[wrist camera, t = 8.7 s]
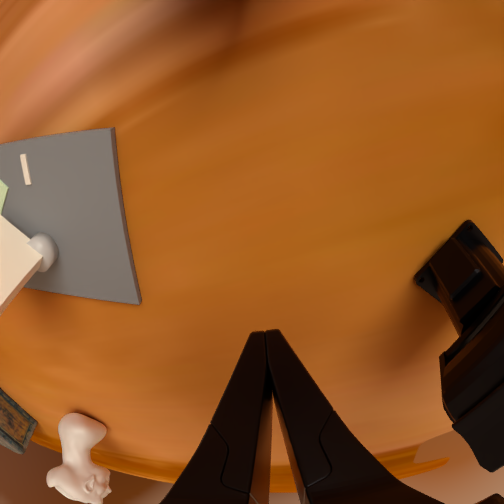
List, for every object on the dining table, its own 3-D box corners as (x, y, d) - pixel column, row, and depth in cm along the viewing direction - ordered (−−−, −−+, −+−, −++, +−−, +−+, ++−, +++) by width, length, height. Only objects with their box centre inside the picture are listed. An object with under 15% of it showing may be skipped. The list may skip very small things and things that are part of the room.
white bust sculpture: (73, 396, 37) (40, 480, 25) (137, 431, 41) (115, 514, 28) (61, 411, 42) (34, 481, 29) (117, 441, 45) (97, 511, 33)
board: (114, 127, 17) (109, 129, 17) (141, 300, 25) (138, 306, 24) (-39, 154, 18) (-45, 156, 17) (-1, 278, 26) (-5, 282, 25)
